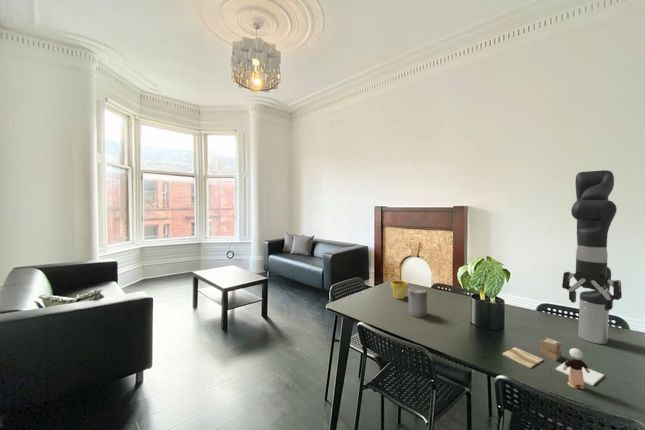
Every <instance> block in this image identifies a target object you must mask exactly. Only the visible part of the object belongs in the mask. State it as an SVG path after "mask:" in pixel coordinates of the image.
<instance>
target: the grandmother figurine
mask: <svg viewBox="0 0 645 430" xmlns="http://www.w3.org/2000/svg"><path fill="white" fill-rule="evenodd" d="M568 353H569V355H570V357H571V358H570V359H567V360H568V361H567V360H566V361H567V362H566V361H565V362H566V363H565V364H564V367H563V370H567V368H568V367H570V372H569V375H568V382H567V385H568V386H569V387H571V388H573V389H578V388H579V389H582V390H584V389H585V385H584V383H585V382H584V378H583V372H582V367H583V368H584V369H585V370H586V372H587V373H590V371H589V369H590V368H589V367H588V365H587V364H586V363H585V362H584V361H583V360H581V359H582V358H583V356H584V354H583V352H582V350H580V349H579V348H575V347H573V348H571V349H569V351H568Z"/></svg>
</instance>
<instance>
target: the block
mask: <svg viewBox="0 0 645 430" xmlns="http://www.w3.org/2000/svg"><path fill="white" fill-rule="evenodd" d="M539 343H540V344H539V347H540V348H539V355H540V356H542V357H545V358H547V359H549V360H552V361H554V362H557V361H558V360H559V359H561V358H562V346H563V345H562V344H563V343H562V342H560V341H557V340H555V339H553V338H550V337H544V338H543V339H540V342H539Z"/></svg>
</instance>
